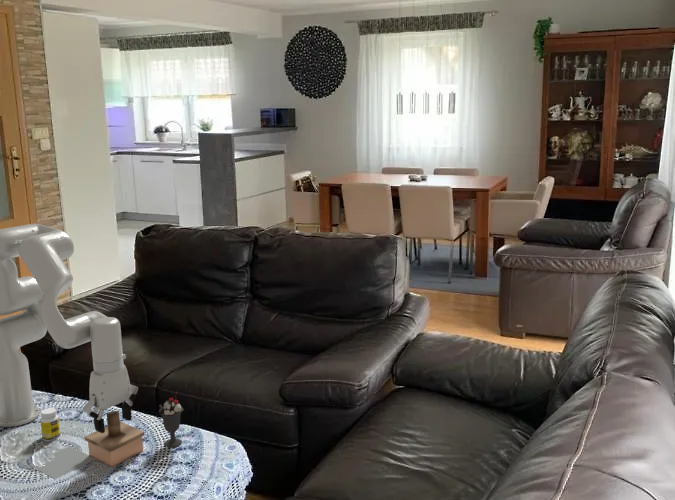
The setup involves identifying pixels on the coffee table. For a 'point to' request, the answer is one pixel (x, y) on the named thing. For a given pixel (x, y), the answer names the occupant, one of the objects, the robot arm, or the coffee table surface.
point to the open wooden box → (116, 452)
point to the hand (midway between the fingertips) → (113, 424)
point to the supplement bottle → (50, 424)
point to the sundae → (171, 420)
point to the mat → (64, 462)
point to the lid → (114, 434)
